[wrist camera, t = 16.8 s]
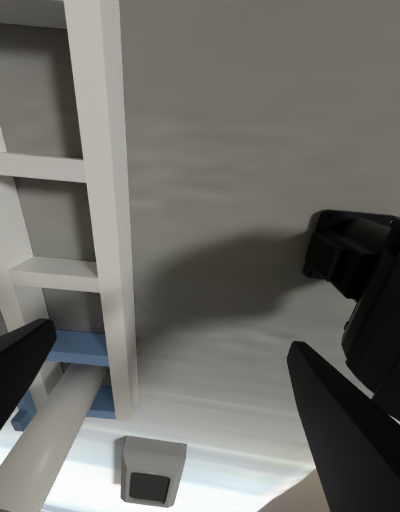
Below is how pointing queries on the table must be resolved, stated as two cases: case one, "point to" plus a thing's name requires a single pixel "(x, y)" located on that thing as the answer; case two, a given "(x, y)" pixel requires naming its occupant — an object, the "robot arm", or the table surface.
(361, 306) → the robot arm
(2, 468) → the white capped cylinder
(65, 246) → the table surface
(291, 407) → the table surface
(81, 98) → the white and blue ladder
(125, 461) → the gray box with screen
